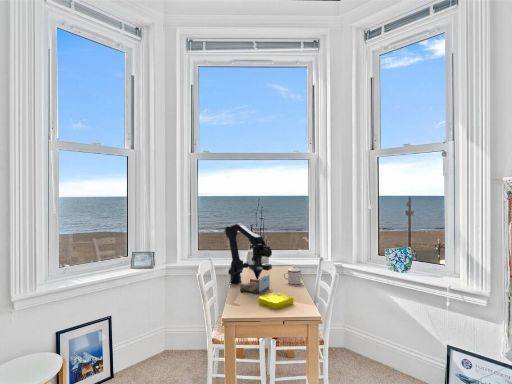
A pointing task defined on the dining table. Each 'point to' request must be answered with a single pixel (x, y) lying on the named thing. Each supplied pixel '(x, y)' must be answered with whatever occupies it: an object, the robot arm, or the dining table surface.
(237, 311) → the dining table surface
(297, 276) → the teacup with lid
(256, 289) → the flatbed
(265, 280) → the tailgate
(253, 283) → the cube with rounded ends
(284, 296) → the element tile
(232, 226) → the robot arm
